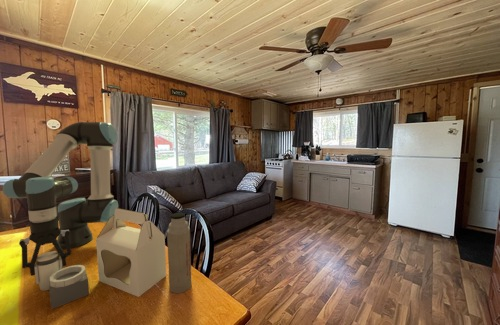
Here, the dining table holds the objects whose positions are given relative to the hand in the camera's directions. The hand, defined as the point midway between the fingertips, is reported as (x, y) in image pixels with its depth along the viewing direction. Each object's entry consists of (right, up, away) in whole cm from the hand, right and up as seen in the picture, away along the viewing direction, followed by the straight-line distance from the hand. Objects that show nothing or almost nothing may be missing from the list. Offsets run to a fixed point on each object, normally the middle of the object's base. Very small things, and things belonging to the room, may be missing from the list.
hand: (50, 278), depth 81 cm
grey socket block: (+11, -3, -4) cm, 12 cm away
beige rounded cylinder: (0, -3, 0) cm, 3 cm away
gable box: (+29, -3, +4) cm, 30 cm away
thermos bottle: (+50, -3, 0) cm, 50 cm away
